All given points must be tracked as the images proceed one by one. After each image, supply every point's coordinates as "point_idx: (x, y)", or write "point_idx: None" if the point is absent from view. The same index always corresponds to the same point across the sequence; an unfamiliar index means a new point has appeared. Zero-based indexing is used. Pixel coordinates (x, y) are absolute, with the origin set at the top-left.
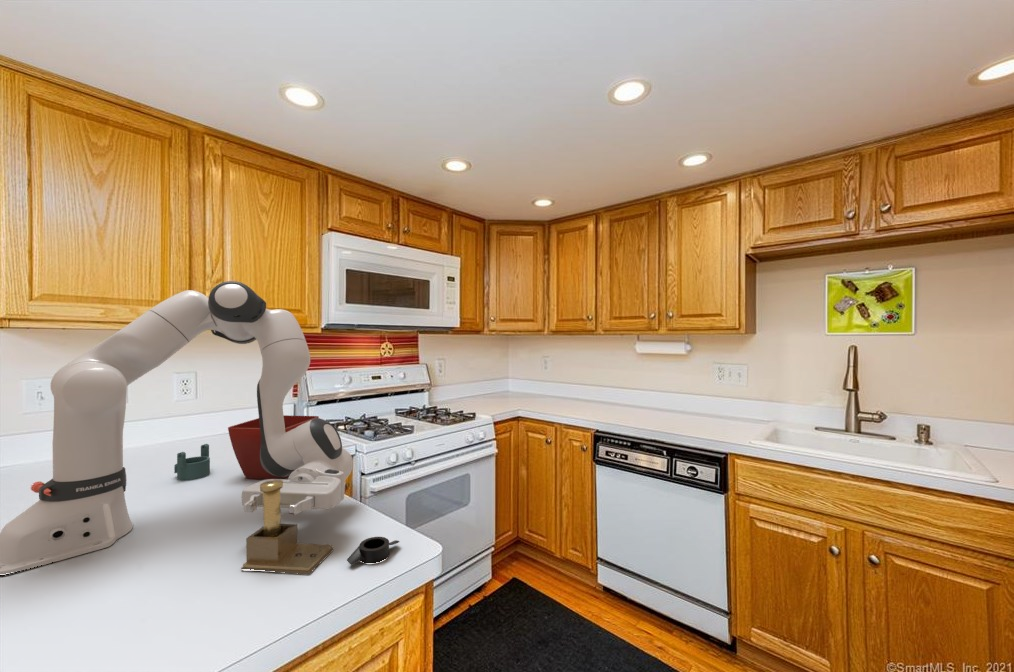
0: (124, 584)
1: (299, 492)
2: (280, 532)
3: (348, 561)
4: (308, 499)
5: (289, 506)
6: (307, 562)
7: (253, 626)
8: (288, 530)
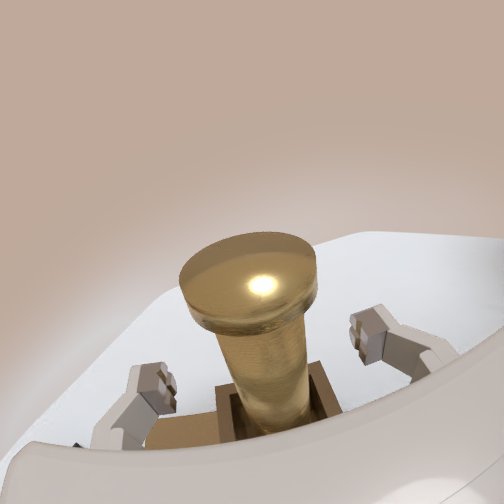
0: (449, 288)
1: (164, 450)
2: (257, 436)
3: (80, 446)
4: (102, 418)
5: (162, 362)
6: (161, 437)
7: (171, 320)
8: (223, 439)
